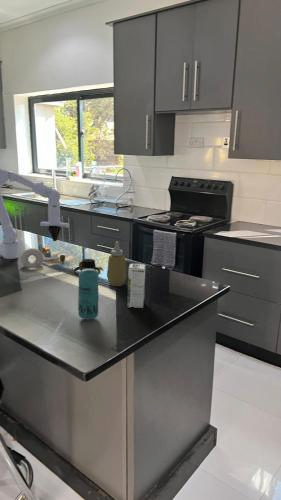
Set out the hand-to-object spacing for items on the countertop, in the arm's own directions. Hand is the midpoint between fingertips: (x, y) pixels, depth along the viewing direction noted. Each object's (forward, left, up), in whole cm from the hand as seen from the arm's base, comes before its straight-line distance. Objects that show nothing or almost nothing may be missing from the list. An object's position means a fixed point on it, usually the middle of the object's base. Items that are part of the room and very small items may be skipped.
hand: (55, 240), depth 189 cm
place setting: (+26, -2, -10) cm, 28 cm away
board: (+5, -4, -9) cm, 11 cm away
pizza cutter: (+2, -6, -7) cm, 9 cm away
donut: (+11, -19, -9) cm, 24 cm away
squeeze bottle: (+51, -3, -9) cm, 52 cm away
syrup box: (+72, -12, -9) cm, 74 cm away
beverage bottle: (+71, -32, -9) cm, 79 cm away
